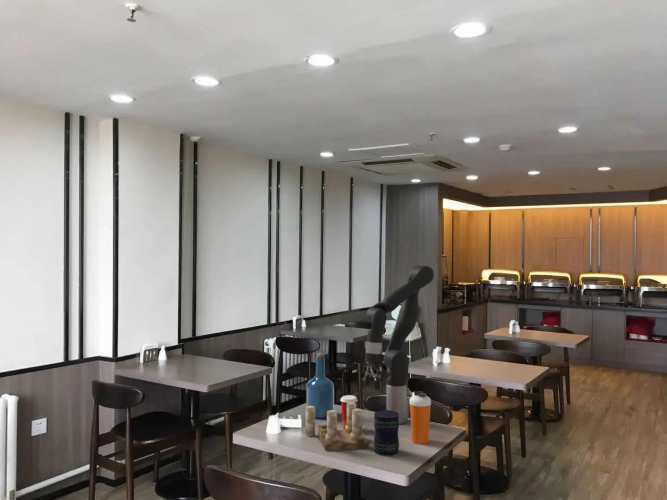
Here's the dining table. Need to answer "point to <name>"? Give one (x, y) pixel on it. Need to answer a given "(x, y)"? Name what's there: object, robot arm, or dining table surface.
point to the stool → (343, 431)
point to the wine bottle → (320, 390)
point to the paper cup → (344, 402)
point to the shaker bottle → (420, 417)
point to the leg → (310, 421)
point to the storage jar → (386, 432)
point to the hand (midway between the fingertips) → (371, 387)
